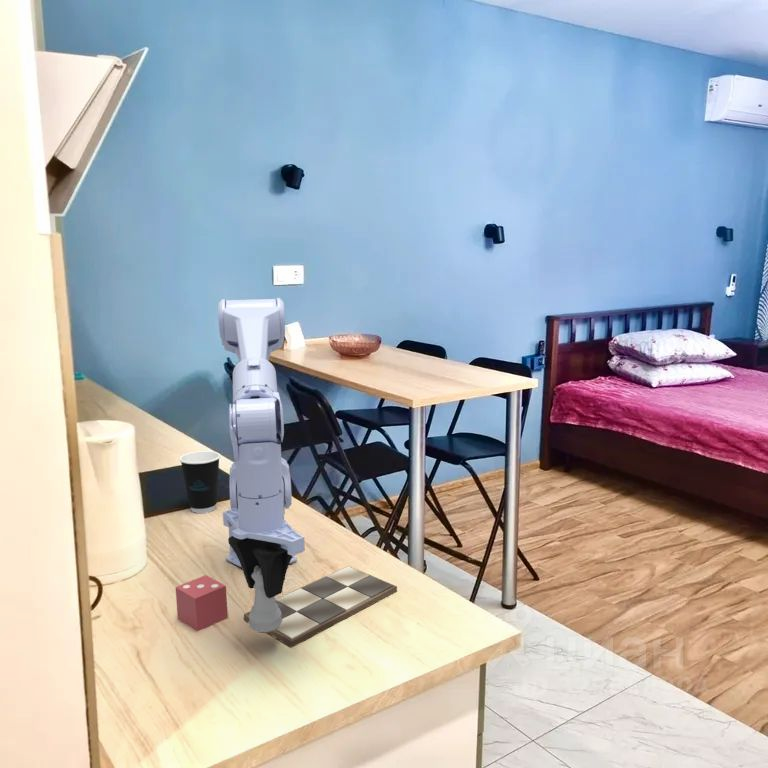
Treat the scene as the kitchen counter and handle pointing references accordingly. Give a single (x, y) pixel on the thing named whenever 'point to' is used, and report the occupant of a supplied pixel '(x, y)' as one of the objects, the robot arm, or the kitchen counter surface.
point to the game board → (326, 603)
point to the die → (201, 602)
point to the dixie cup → (201, 479)
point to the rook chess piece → (263, 607)
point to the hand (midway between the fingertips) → (265, 590)
